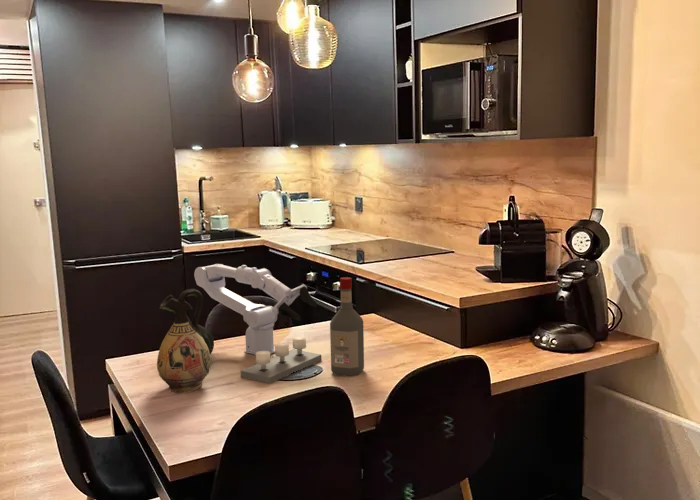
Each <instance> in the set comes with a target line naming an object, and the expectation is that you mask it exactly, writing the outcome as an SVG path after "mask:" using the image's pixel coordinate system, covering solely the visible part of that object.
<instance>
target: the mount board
mask: <svg viewBox="0 0 700 500" xmlns="http://www.w3.org/2000/svg"><path fill="white" fill-rule="evenodd" d="M321 361H322V354H319V353H314V352H309V351H304V350H302V354H297V349H294V348H293V349H289V355H288V356H285V361H280V357H279V356H276V355H275V356H273V357H270V363H268V364H266V369H261V364H257V363H256V364H253V365H251V366H248V367H245V368H244V369H241V370H240V378H245V379H249V380H254V381H257V382H261V383H266V384H270V385H271V384H273V383H275V382H277V381H279V380H281V379H280V378H282V379H283V377H284V378H286V377H288V376H290V375H292V374H291V373H293V372H295V373H297V372H299V371H301V370H303V368H304V369H306V368H308V367H310V366H312V365H314V364H317V363H319V362H321ZM305 367H306V368H305ZM298 370H299V371H298ZM296 371H297V372H296ZM289 374H290V375H289ZM293 374H294V373H293ZM287 375H288V376H287ZM285 376H286V377H285Z"/></svg>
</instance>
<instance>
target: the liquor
mask: <svg viewBox="0 0 700 500" xmlns="http://www.w3.org/2000/svg"><path fill="white" fill-rule="evenodd" d="M352 281H353V280H352V277H348V276H346V277H344V276H343V277H340V278H339V288H340V307H339V310H338V311H337V312H336V313H335V315H334V316H333V317H332V318H331V320H330V323H329V333H330V334H329V338H330V370H331V372H332V374H334V375H335V376H339V377H348V378H352V377H357V376H359V375H360V374H361V373H362V372H363V371H364V369H365V341H364V340H365V337H364V334H365V333H364V321H363V320H364V319H363V318H362V316H361V315H360V314H359V313H358V312H357V311H356V310H355V309H354V306H353V301H352V299H353V298H352V296H353V295H352V288H353V282H352Z"/></svg>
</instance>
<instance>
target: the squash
mask: <svg viewBox="0 0 700 500" xmlns="http://www.w3.org/2000/svg"><path fill="white" fill-rule="evenodd" d="M198 326H199V329H200V333H201V336H202V337H203V339H204V341H205V343H206V344H207V346H208V349H209V353H210V356H211V355H212V353H213V350H214V348H215V339H214V336H213V335H212V334H211V332H210V331H209V330H208V329H207V328H206V327H204V326H202V325H201V324H199V323H198Z"/></svg>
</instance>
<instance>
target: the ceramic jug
mask: <svg viewBox="0 0 700 500" xmlns="http://www.w3.org/2000/svg"><path fill="white" fill-rule="evenodd" d="M188 297H194V298H195V299H197V302H196V307H195V311H194V314H193V317H192V319H190V318H189V316H188V315H187V314H188V313H189V312H192V310H193V306H192V305H191V304H190V303H189V302H187V301H186V298H188ZM203 305H204V297H203V294H202V292H200V290H198V289H196V288H188V289H185V290H184V291H182V292H181V294H179V297H178V298H176V297H174V295H172V294H169V295H168V296H166V298H164V300H163V301H162V302H161V303H160V306H159V309H161V310H164V311H169V312H171V313H174V315H175V318H174V321H173V324H172V325H171V326H170V328H169V330H168V331H167V333H166V335H165V336H164V338H163V340H162V342H161V344H160V347H159V349H158V350H159V351H158V355H157V360H156V361H157V362H156V365H157V366H156V368H157V372H158V375H159V377H160V378H161V379H162V380H163V382H164V383H166V384H167V385H168V390H170V391H171V392H173V393H177V394H178V393H180V394H181V393H190V392H194V391H196V390H198V389H199V388H201V387H202V385H203V381H204V380H205V379H206V377H207V375H209V373H210V369H211V366H212V359H211V355H210V353H209V349H208V346H207V344H206V343H205V341H204V339H203V337H202V336H201V333H200V329H199V326H198V324H199V319H200V317H201V312H202V309H203Z"/></svg>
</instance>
